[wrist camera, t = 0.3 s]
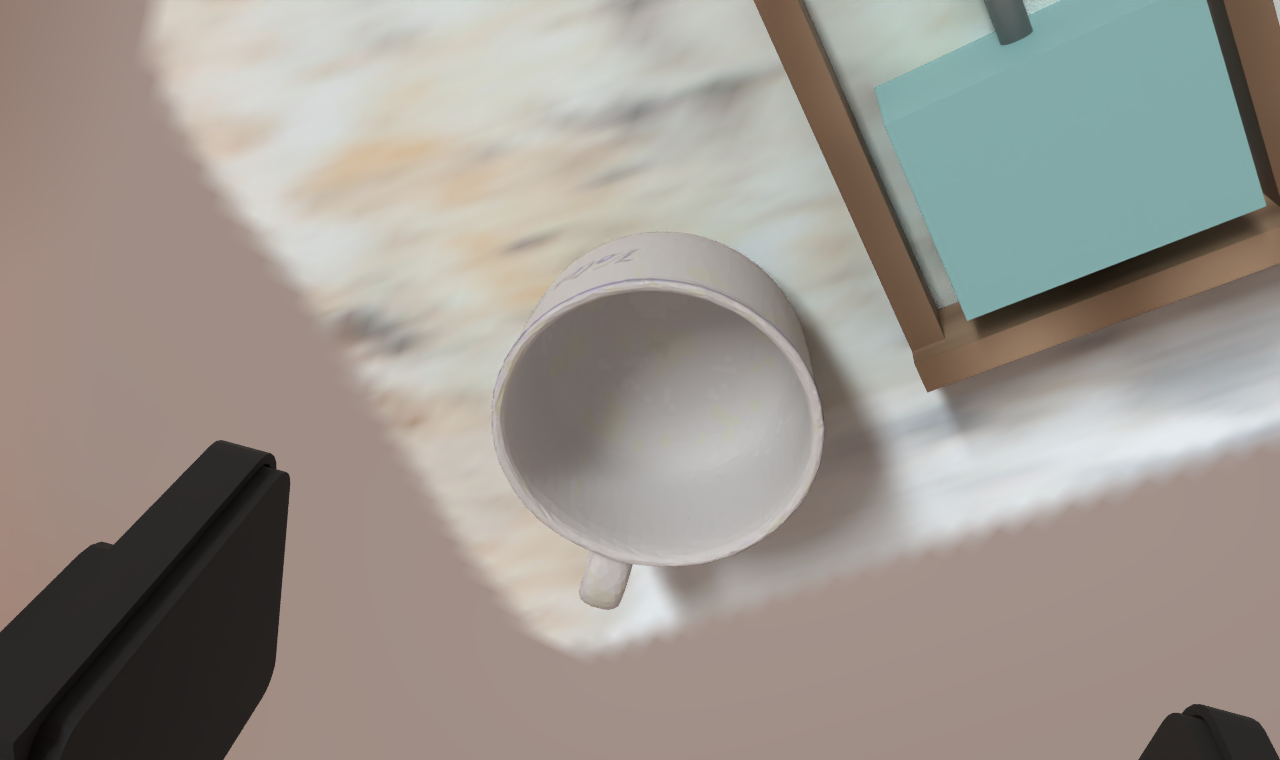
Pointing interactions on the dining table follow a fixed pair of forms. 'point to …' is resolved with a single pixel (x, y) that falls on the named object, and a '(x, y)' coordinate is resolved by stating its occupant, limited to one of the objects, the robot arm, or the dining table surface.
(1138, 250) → the teal block
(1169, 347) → the dining table surface
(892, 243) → the frame
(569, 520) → the teacup
